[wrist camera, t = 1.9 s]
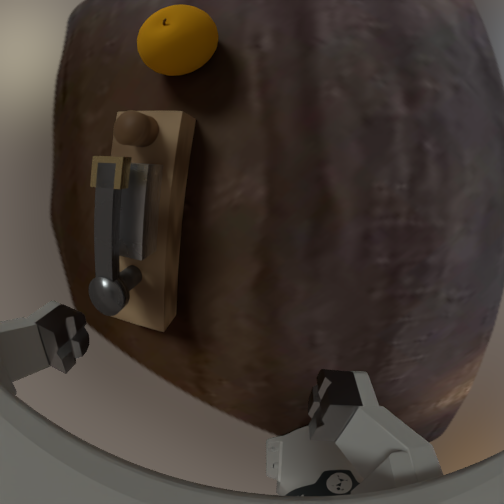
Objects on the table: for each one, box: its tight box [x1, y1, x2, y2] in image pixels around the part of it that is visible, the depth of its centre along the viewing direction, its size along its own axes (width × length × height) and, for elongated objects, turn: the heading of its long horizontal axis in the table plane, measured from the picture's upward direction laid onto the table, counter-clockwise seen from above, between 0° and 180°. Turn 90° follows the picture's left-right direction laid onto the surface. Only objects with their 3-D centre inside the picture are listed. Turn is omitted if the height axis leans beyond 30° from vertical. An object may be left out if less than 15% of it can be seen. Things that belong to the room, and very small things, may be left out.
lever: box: [89, 156, 131, 316], centre depth 20 cm, size 13×4×2 cm, turn 171°
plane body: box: [111, 110, 196, 332], centre depth 24 cm, size 22×7×8 cm, turn 171°
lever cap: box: [119, 163, 164, 261], centre depth 22 cm, size 8×5×3 cm, turn 171°
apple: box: [137, 5, 218, 76], centre depth 19 cm, size 8×8×8 cm
